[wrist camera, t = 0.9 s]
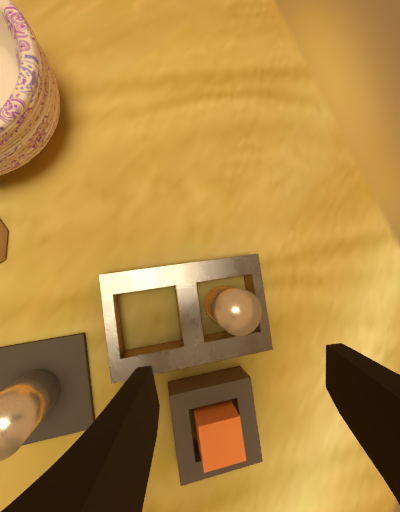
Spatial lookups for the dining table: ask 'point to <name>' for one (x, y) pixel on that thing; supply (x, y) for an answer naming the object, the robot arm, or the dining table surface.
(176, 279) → the grey flat rectangular frame
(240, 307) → the light bulb
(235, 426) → the button
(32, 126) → the paper bowls
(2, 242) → the flask
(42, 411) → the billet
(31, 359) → the rubber mat
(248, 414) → the button housing
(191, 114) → the dining table surface
